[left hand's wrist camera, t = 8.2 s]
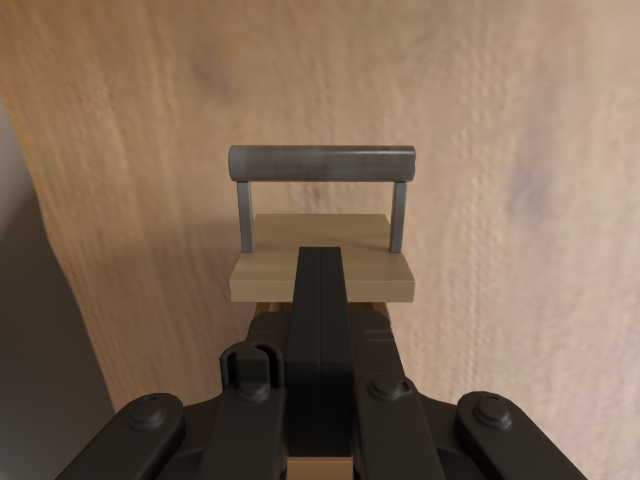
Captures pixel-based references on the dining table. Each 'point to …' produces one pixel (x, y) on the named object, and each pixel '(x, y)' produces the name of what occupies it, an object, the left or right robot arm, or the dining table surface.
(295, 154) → the drawer
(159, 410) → the left robot arm
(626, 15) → the dining table surface
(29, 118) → the dining table surface
